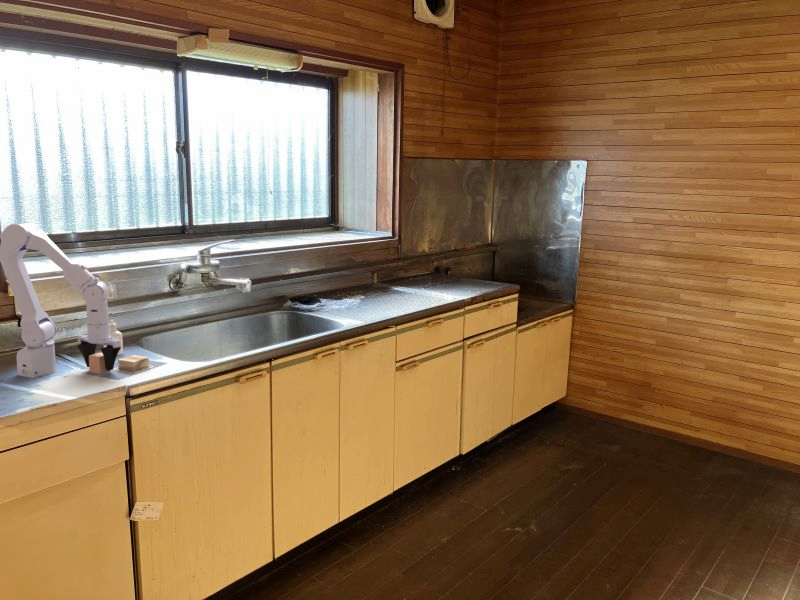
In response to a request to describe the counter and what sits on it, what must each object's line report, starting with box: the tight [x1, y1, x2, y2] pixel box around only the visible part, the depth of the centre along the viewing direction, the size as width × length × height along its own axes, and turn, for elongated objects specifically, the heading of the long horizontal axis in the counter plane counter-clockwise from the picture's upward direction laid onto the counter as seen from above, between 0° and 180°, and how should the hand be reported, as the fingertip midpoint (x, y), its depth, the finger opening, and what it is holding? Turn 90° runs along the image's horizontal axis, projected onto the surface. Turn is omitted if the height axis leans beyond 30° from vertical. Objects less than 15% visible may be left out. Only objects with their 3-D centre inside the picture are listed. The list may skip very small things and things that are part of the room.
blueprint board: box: [81, 359, 168, 381], centre depth 193 cm, size 20×14×1 cm
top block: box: [88, 352, 110, 374], centre depth 188 cm, size 4×4×5 cm
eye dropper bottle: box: [103, 319, 124, 356], centre depth 208 cm, size 4×6×12 cm
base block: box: [117, 354, 150, 372], centre depth 193 cm, size 6×6×3 cm
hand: (100, 368), depth 189 cm, fingers open, 7 cm apart
